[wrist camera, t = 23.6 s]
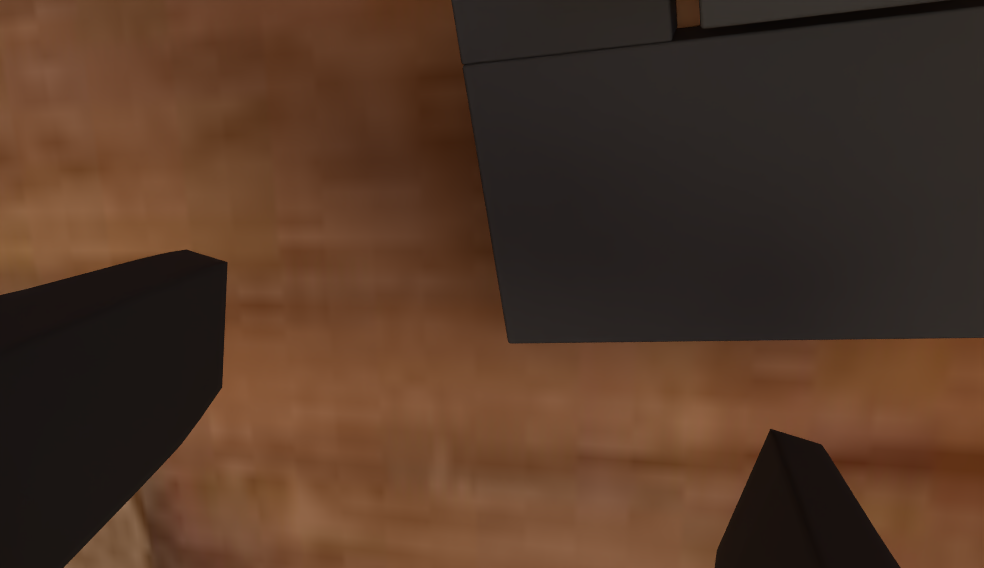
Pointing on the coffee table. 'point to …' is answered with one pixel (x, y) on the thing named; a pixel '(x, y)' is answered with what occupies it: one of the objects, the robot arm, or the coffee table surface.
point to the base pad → (729, 171)
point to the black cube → (783, 9)
